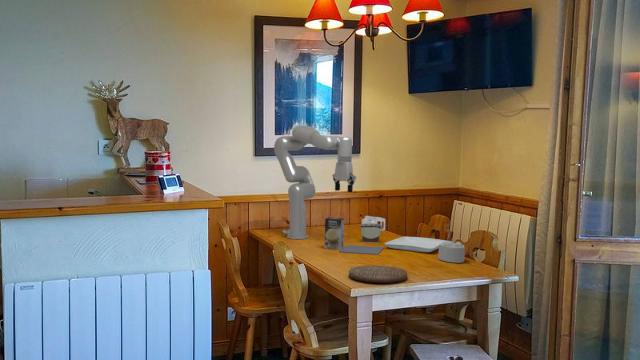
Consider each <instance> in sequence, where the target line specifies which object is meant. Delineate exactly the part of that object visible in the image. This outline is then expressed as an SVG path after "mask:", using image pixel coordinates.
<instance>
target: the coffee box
mask: <svg viewBox="0 0 640 360" xmlns="http://www.w3.org/2000/svg"><path fill="white" fill-rule="evenodd" d="M344 238H345V218H342V217H333V216H332V217H330V216H328V217H325V218H324V249H326V250H336V251H337V250H338V251H340V250H341V249H343V248H344Z"/></svg>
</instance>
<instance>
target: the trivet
mask: <svg viewBox="0 0 640 360" xmlns="http://www.w3.org/2000/svg"><path fill="white" fill-rule="evenodd" d="M348 277H350V278H351V279H353V280H355V281H359V282H366V283H375V284H376V283H377V284H387V283H388V284H390V283H397V282H398V283H400V282H403V281H405V280H407V279H408V271H407V270H405V269H402V268H399V267H395V266H389V265H375V264H374V265H361V266H360V265H359V266H355V267H354V266H353V267H351V268H350V269H348Z"/></svg>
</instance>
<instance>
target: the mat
mask: <svg viewBox="0 0 640 360" xmlns="http://www.w3.org/2000/svg"><path fill="white" fill-rule="evenodd" d="M384 249H385V247H384V246H375V245H374V246H371V245H357V244H356V245H355V244H346V245H345V246H343V249H341V250H338V253H341V254H342V253H344V254H346V253H347V254H358V255H359V254H360V255H373V256H375V255H376V256H378V255H379V254H380V253H381V252H382V251H383V250H384Z"/></svg>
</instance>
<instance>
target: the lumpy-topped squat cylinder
mask: <svg viewBox="0 0 640 360" xmlns="http://www.w3.org/2000/svg"><path fill="white" fill-rule="evenodd" d="M447 241H448V242H447ZM465 251H466V247H465V245H464V244H462V242H460V241H456V242H454V241H452V240H446V242H443V243H442V244H439V248H438V260H440V261H443V262H448V263H458V264H459V263H464V262H465V254H466V253H465Z"/></svg>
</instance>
